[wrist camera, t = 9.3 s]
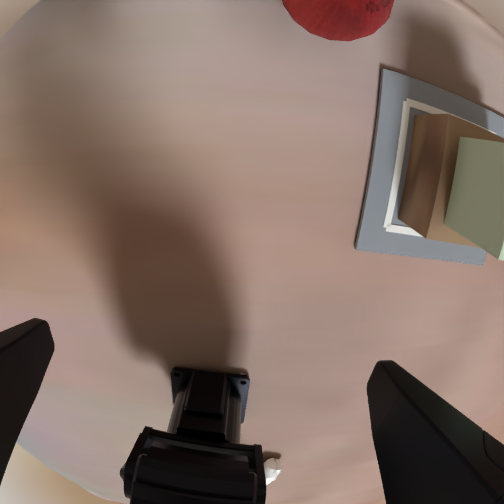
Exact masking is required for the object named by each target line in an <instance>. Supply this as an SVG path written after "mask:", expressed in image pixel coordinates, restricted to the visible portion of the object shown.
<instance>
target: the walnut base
mask: <svg viewBox="0 0 504 504" xmlns="http://www.w3.org/2000/svg"><path fill="white" fill-rule="evenodd" d="M460 137H467V138H475V139H482V140H489V141H496V142H502V143H504V138H502V137H500V136H498V135H496V134H494V133H492V132H490V131H488V130H486V129H483V128H481V127H479V126H477V125H475V124H472V123H470V122H468V121H465V120H463V119H460V118H458V117H455V116H453V115H450V114H423V115H415V116H414V125H413V134H412V141H411V148H410V155H409V161H408V168H407V173H406V179H405V185H404V190H403V195H402V200H401V205H400V210H399V214H398V219H399V220H400V221H402V222H403V223H405V224H406V225H407V226H409V227H410V228H412V229H413V230H415V231H416V232H417V233H419V234H420V235H421V236H423V237H424V238H426V239H430V240H436V241H443V242H449V243H455V244H461V245H467V246H472V247H478V248H481V247H479V246H478V245H476V244H474V243H473V242H471V241H470V240H468V239H467V238H465V237H463V236H462V235H460V234H459V233H457V232H455V231H454V230H452V229H450V228H449V227H447V226H445V225H444V221H445V217H446V213H447V208H448V204H449V199H450V194H451V189H452V184H453V179H454V173H455V167H456V161H457V154H458V147H459V140H460Z"/></svg>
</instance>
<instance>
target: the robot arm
mask: <svg viewBox="0 0 504 504" xmlns="http://www.w3.org/2000/svg"><path fill="white" fill-rule="evenodd" d="M53 352H54V341H53V338H52V334H51V331H50V327H49V324H48V323H47V321H45V320H42V319H38V318H33V319H31V320H28V321H26V322H24V323H21V324H19V325H16V326H14V327H11V328H9V329H7V330H4V331H2V332H0V485H1V482H2V479H3V476H4V473H5V470H6V467H7V464H8V462H9V459H10V456H11V454H12V451H13V449H14V446H15V443H16V441H17V439H18V436H19V434H20V431H21V429H22V427H23V424H24V422H25V420H26V418H27V415H28V413H29V411H30V409H31V407H32V404H33V402H34V400H35V398H36V396H37V394H38V391H39V389H40V386H41V383H42V381H43V378H44V375H45V373H46V370H47V367H48V365H49V362H50V360H51V357H52V355H53ZM178 373H179V374H178ZM171 380H172V391H173V401H174V407H173V411H172V414H171V418H170V422H169V426H168V430H167V432H164V431H160V430H155V429H153V428H152V427H147V426H145V428H144V430H143V432H142V433H140V435H139V437H138V439H137V441H136V443H135V445H134V447H133V449H132V451H131V453H130V455H129V457H128V459H127V461H126V463H125V464H124V466H123V467H122V468H121V470H120V476H121V478H122V479H123V481H124V494H125V497H126V498H129V499H130V504H265V500H266V477H265V470H264V462H263V454H262V446H261V445H257V444H254V445H245V444H240V428H241V424H242V423H243V422H244V416H245V410H246V403H247V396H248V390H249V383H250V379H249V377H248V376H245V375H236V374H226V373H217V372H208V371H200V370H193V369H186V368H179V367H175V368H173V369H172V372H171ZM367 396H368V404H369V411H370V420H371V429H372V436H373V441H374V446H375V451H376V455H377V460H378V464H379V469H380V474H381V479H382V484H383V489H384V494H385V499H386V504H504V445H503V444H502V443H501V442H499V441H498V440H496V439H495V438H494V437H492V436H491V435H490V434H488V433H487V432H486V431H485V430H483V431H482V428H481V427H479V426H478V425H477V424H475V423H474V422H473V421H471V420H470V419H469V418H467V417H466V416H465V415H463V414H462V413H461V412H460V411H458V410H457V409H456V408H454V407H453V406H452V405H450V404H449V403H448V402H446V401H445V400H444V399H443V398H441V397H440V396H439V395H437V394H436V393H435V392H433V391H432V390H431V389H429V388H428V387H427V386H425V385H424V384H423V383H422V382H420V381H419V380H418V379H416V378H415V377H414V376H412V375H411V374H410V373H408V372H407V371H406V370H405V369H403V368H402V367H401V366H399V365H398V364H397V363H395V362H394V361H392V360H380V361H378V362H377V363H376V365H375V367H374V369H373V372H372V374H371V376H370V378H369V380H368V383H367Z"/></svg>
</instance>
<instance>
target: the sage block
mask: <svg viewBox="0 0 504 504" xmlns="http://www.w3.org/2000/svg"><path fill="white" fill-rule="evenodd" d="M444 225H445V226H447V227H449V228H450V229H452V230H454V231H455V232H457V233H459V234H460V235H462V236H463V237H465V238H467V239H468V240H470V241H471V242H473V243H474V244H476V245H478V246H479V247H481V248H482V249H484V250H485V251H487V252H488V253H490V254H491V255H493V256H494V257H495V258H497V259H499V260H504V143H502V142H496V141H489V140H482V139H475V138H467V137H460V140H459V147H458V154H457V161H456V167H455V173H454V179H453V184H452V189H451V194H450V199H449V204H448V208H447V213H446V217H445V221H444Z"/></svg>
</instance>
